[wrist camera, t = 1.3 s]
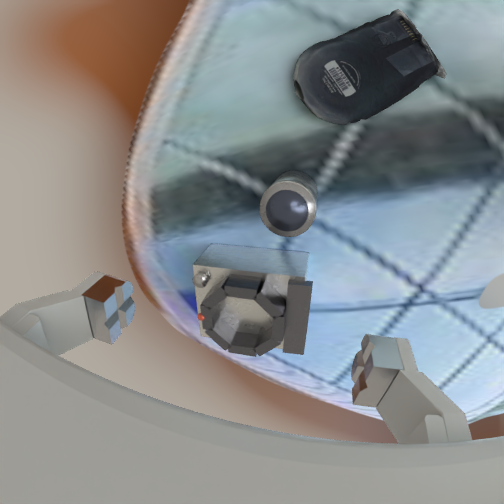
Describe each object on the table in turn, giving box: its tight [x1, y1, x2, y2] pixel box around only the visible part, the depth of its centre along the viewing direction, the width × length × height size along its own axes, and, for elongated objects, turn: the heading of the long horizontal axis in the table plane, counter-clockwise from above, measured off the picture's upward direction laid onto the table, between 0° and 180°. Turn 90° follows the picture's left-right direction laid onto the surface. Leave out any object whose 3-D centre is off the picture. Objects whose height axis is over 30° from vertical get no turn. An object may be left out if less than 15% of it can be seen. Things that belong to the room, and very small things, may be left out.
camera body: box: [193, 243, 313, 357], centre depth 35 cm, size 13×10×9 cm
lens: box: [260, 170, 318, 237], centre depth 30 cm, size 5×5×7 cm
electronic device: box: [294, 9, 446, 125], centre depth 24 cm, size 9×6×15 cm
